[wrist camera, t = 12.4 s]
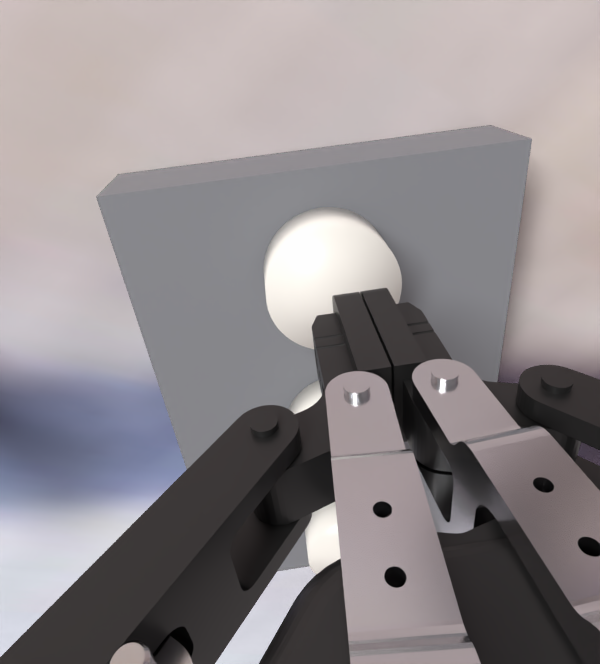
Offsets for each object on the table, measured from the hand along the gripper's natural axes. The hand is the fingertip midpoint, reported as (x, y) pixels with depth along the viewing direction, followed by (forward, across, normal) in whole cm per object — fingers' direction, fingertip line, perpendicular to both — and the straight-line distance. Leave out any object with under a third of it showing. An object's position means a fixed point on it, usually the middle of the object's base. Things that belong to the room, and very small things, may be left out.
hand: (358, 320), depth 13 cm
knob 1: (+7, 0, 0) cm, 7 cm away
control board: (+7, 0, +7) cm, 10 cm away
